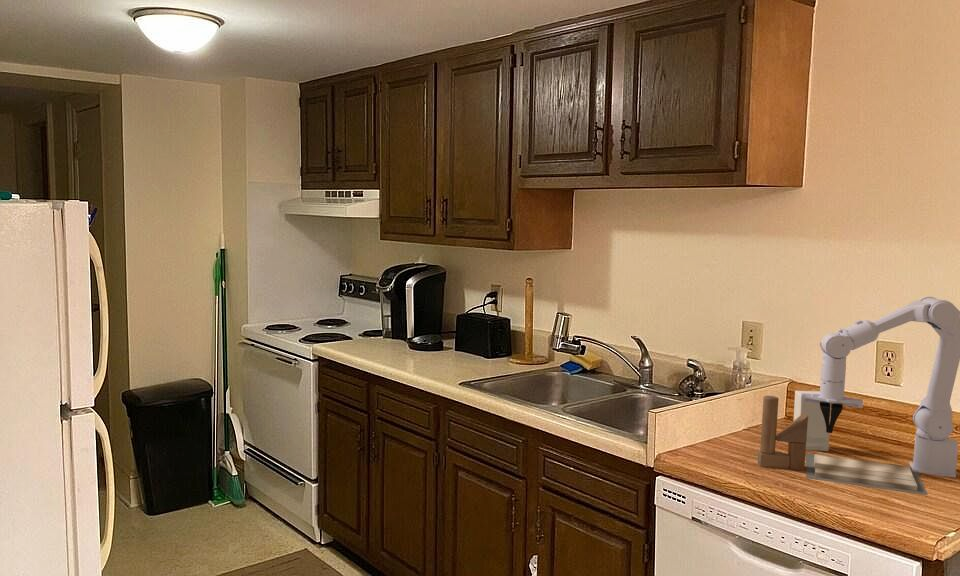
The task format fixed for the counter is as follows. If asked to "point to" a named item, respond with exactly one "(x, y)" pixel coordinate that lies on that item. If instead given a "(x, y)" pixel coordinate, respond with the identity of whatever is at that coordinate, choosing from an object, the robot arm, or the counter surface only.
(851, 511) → the counter surface
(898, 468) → the loose plank
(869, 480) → the laid plank
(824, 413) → the robot arm
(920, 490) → the underlay mat
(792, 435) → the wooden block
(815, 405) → the skincare box
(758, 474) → the counter surface
